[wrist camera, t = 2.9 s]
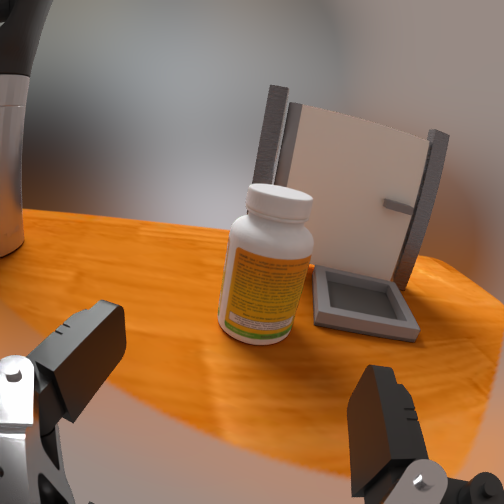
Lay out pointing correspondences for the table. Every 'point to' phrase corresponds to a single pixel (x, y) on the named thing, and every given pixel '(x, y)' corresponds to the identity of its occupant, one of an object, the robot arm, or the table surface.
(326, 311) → the shallow tray
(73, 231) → the table surface
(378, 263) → the door
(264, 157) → the door frame
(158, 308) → the table surface
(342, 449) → the table surface
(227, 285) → the supplement bottle
